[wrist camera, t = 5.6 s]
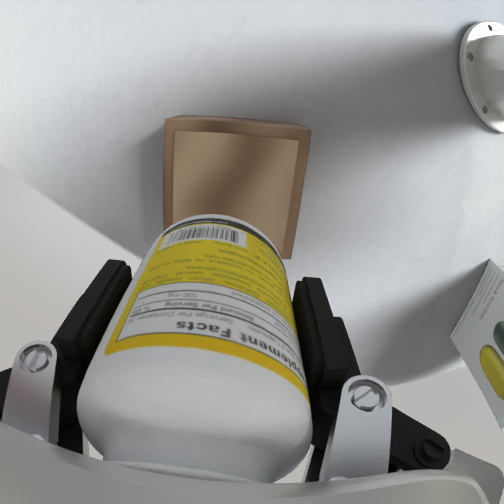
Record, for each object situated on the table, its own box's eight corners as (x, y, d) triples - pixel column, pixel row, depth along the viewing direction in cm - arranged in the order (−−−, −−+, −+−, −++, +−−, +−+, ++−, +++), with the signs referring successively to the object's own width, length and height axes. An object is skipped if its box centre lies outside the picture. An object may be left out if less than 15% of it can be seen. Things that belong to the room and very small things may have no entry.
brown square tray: (300, 125, 24) (311, 131, 19) (284, 232, 29) (291, 260, 24) (180, 115, 24) (164, 119, 19) (177, 223, 28) (163, 249, 24)
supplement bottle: (217, 345, 14) (197, 562, 5) (123, 270, 12) (12, 498, 3) (314, 279, 12) (377, 545, 3) (215, 178, 10) (102, 519, 1)
